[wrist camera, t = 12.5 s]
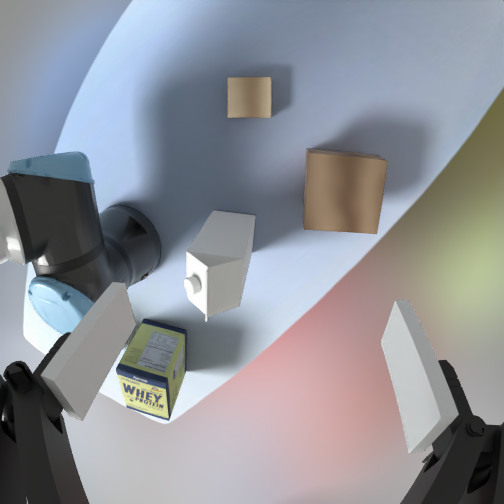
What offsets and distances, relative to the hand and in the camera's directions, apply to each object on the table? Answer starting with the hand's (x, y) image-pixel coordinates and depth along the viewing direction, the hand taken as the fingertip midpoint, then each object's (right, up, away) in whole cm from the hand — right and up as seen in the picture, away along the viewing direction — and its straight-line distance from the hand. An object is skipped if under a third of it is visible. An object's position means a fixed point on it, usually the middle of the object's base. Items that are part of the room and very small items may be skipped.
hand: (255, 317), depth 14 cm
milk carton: (-3, +6, +37) cm, 37 cm away
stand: (0, +26, +26) cm, 37 cm away
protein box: (-20, -19, +52) cm, 59 cm away
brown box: (+12, +12, +26) cm, 31 cm away
